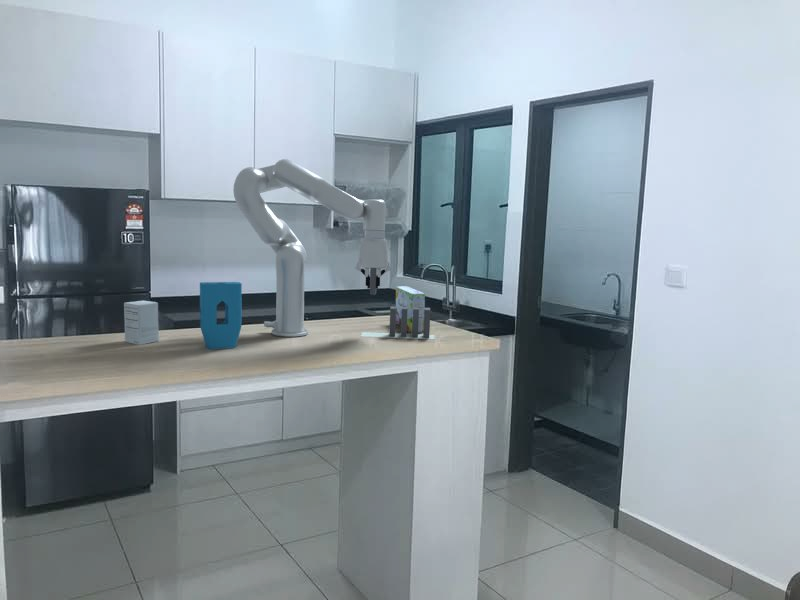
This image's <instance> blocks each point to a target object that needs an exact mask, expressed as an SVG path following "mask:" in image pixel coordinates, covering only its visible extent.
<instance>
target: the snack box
mask: <svg viewBox="0 0 800 600" xmlns="http://www.w3.org/2000/svg"><path fill="white" fill-rule="evenodd" d="M425 305H426V294H425V292H422V291H419V290H417V289H414V288H412V287H410V286H408V285H406V286H405V285H404V286H402V285H401V286H399V285H398V286H395V307H396V325H397V326H399V327H401V314H402V307H407V331H408V332H410V333H412V322H413V317H412V314H413V307H419V321H418V333H423V326H424V316H423V315H424V308H426V307H425Z"/></svg>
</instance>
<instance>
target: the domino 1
mask: <svg viewBox="0 0 800 600" xmlns="http://www.w3.org/2000/svg"><path fill="white" fill-rule="evenodd" d="M369 275H370V288H369V295H371V296H375V295H376V294H377V289H376V277H377V268H369Z"/></svg>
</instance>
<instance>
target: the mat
mask: <svg viewBox="0 0 800 600" xmlns="http://www.w3.org/2000/svg"><path fill="white" fill-rule="evenodd" d="M360 337H361V338H365V337H366V338H392V339H414V340H415V339H417V340H418V339H420V340H436V338H435V337H436V336H435V334H429V338H423V333H422V334H419V333H418V338H412V333H407V335H406V337H401V333H397V332H395V337H389V332H371V331H370V332H369V331H367V332H366V331H362V332H361V335H360Z"/></svg>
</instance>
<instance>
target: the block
mask: <svg viewBox="0 0 800 600" xmlns="http://www.w3.org/2000/svg"><path fill="white" fill-rule="evenodd" d="M242 285H243V283H242V282H240V281H220V282H219V281H215V282H214V281H212V282H211V281H210V282H209V281H207V282H206V281H205V282H199V326H200V331H201V334H202V337H203V342H204V344H205V347H206V348H207V349H208V350H216V349H232V348H233V349H234V348H236V347H237V344H238V340H239V337H240V334H241V330H242V315H243V314H242V313H243V311H242V302H243V301H242V297H243V296H242V288H243V287H242ZM221 302H223V303H224V321H222V323H218V322H217V320H218V319H217V317H218V316H217V310H218V309H217V307H218V305H219V304H220V303H221Z"/></svg>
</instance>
